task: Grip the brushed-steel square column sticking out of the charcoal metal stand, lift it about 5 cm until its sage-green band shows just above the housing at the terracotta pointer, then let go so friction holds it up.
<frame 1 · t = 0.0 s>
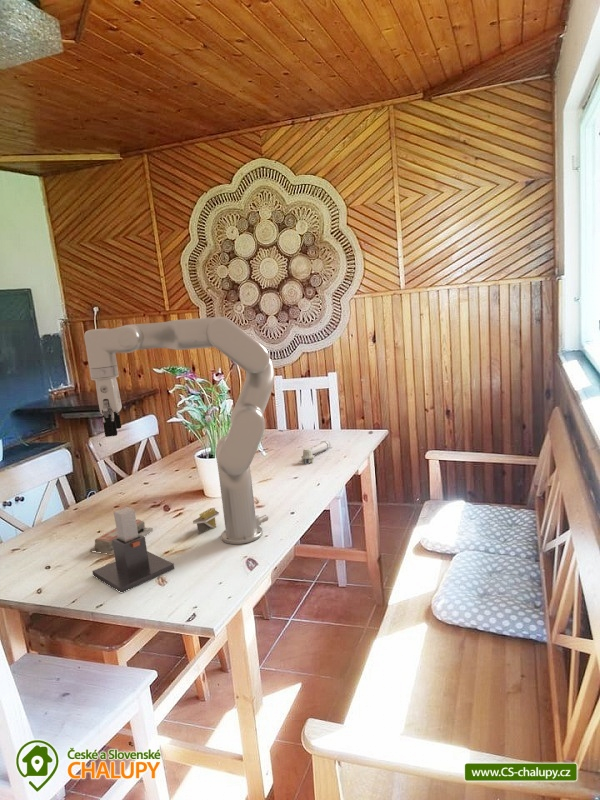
hand: (113, 432, 164), 37 cm above the table, tool pointing down, fingers open, 9 cm apart
toothbrush head: (316, 457, 255), on the table
packaged product: (123, 543, 181), on the table
column: (128, 538, 157), point 10 cm above the table, slide at 0.0 cm
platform: (209, 531, 184), on the table
stand housing: (133, 572, 159), on the table
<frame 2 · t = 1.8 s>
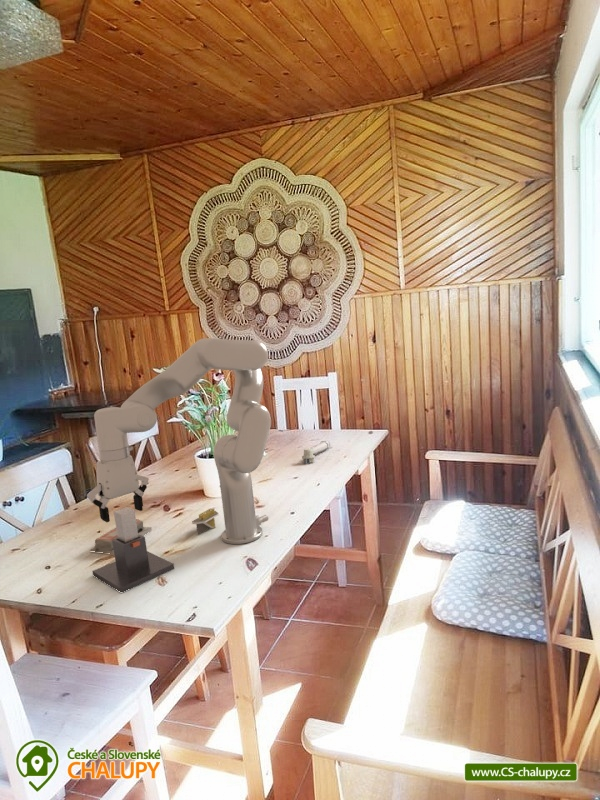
hand: (122, 515, 155), 17 cm above the table, tool pointing down, fingers open, 9 cm apart
nothing on the table moved.
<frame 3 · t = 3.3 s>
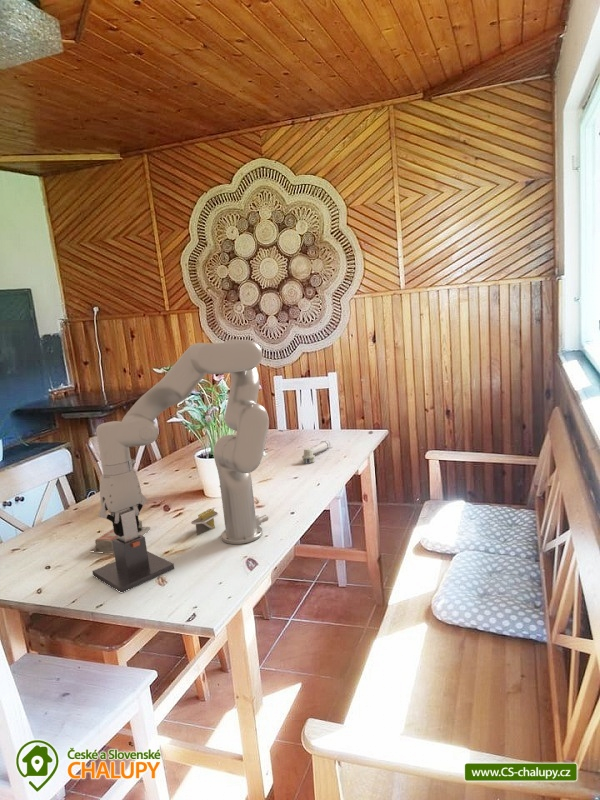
hand: (127, 531, 157), 12 cm above the table, tool pointing down, fingers closed on column, 4 cm apart
column: (128, 538, 157), point 10 cm above the table, slide at 0.0 cm, touching gripper
everything else where it was.
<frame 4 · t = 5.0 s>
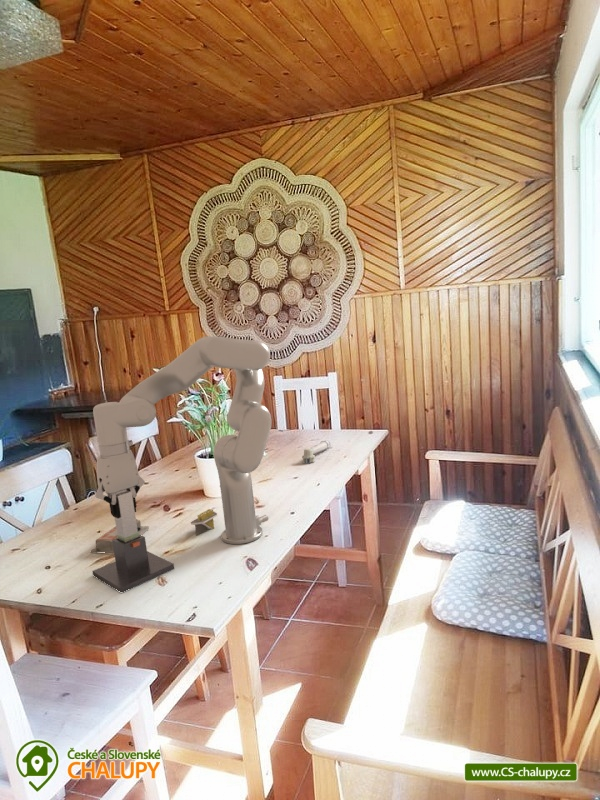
hand: (124, 513, 156), 17 cm above the table, tool pointing down, fingers closed on column, 4 cm apart
column: (125, 520, 156), point 15 cm above the table, slide at 5.2 cm, touching gripper
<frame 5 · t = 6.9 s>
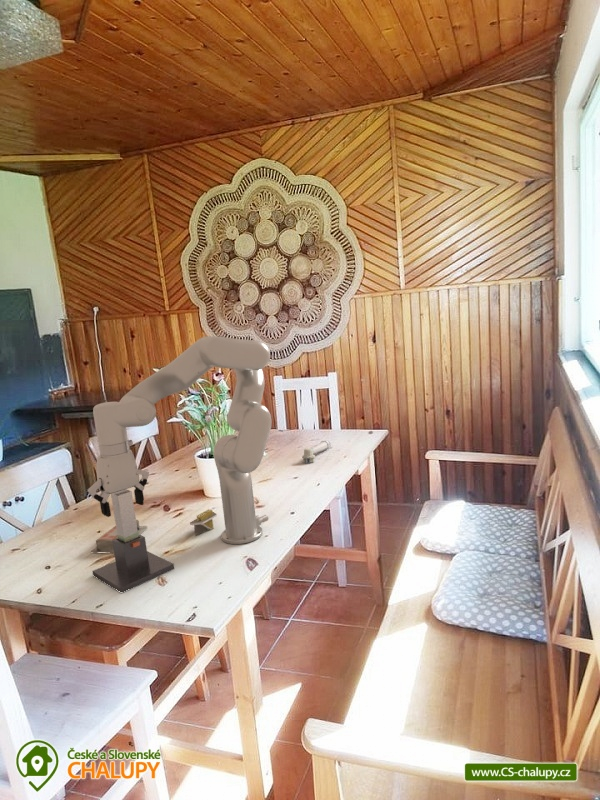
hand: (123, 509, 155), 18 cm above the table, tool pointing down, fingers open, 9 cm apart
column: (125, 520, 156), point 15 cm above the table, slide at 5.3 cm
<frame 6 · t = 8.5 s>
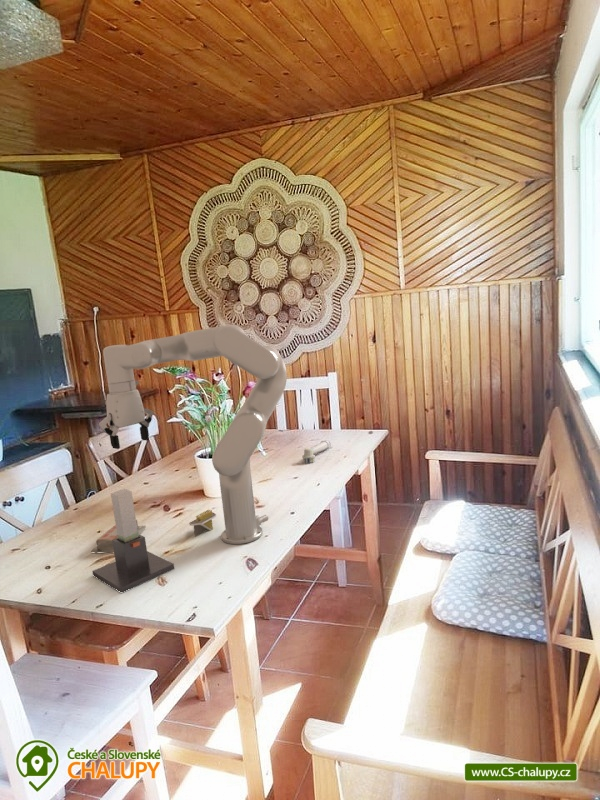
hand: (131, 444, 171), 32 cm above the table, tool pointing down, fingers open, 9 cm apart
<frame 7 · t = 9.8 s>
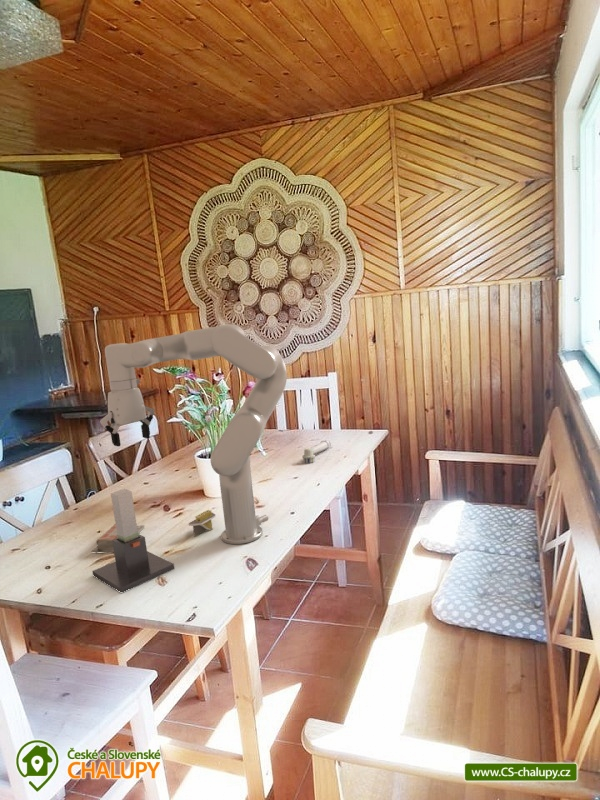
hand: (132, 441, 172), 32 cm above the table, tool pointing down, fingers open, 9 cm apart
at the end: column slide at 5.3 cm; the gripper is holding nothing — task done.
